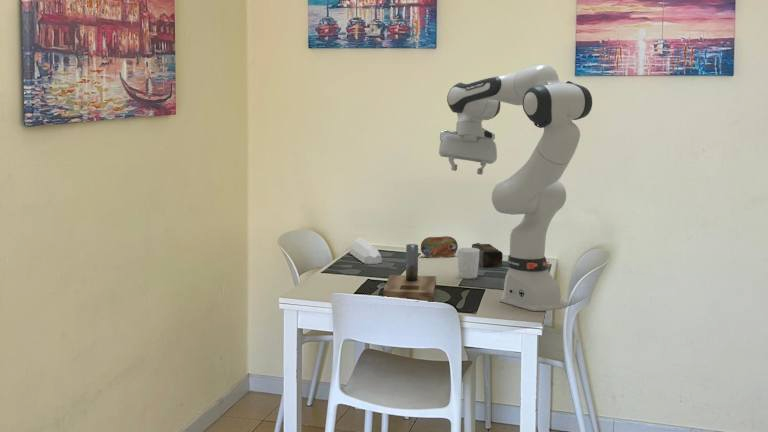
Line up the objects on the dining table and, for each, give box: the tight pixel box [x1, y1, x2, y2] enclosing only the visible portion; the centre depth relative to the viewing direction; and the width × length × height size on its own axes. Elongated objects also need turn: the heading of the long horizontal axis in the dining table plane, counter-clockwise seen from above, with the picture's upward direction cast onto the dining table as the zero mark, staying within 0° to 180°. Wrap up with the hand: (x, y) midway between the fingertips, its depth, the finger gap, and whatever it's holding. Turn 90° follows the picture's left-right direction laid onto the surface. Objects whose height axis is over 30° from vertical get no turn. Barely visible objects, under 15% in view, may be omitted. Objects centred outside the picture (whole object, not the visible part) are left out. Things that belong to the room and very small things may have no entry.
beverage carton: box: [471, 242, 504, 268], centre depth 335 cm, size 8×19×7 cm, turn 8°
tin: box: [420, 235, 459, 259], centre depth 345 cm, size 15×3×8 cm, turn 104°
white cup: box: [457, 247, 480, 280], centre depth 310 cm, size 8×8×10 cm
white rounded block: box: [349, 237, 383, 265], centre depth 340 cm, size 7×7×24 cm
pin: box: [405, 243, 419, 281], centre depth 290 cm, size 4×4×12 cm
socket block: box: [382, 274, 437, 302], centre depth 286 cm, size 16×24×3 cm, turn 175°
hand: (467, 172), depth 294 cm, fingers open, 8 cm apart
